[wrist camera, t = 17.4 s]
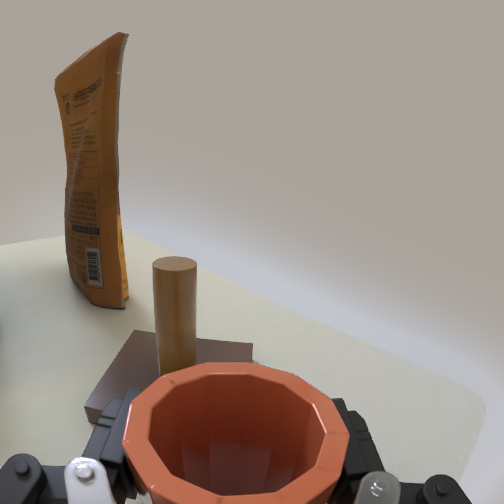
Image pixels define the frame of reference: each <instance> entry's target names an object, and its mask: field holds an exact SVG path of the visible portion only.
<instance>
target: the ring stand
mask: <svg viewBox="0 0 504 504" xmlns="http://www.w3.org/2000/svg"><path fill="white" fill-rule="evenodd" d="M196 285H197V263H196V262H195V261H194V260H192V259H189V258H185V257H175V256H174V257H163V258H159V259H157V260H155V261H154V262H153V293H154V314H155V330H156V333H153V332H146V331H139V330H134V331H133V333H132V334H131V336H130V337H129V339H128V340H127V341H126V343H125V344H124V346H123V347H122V349H121V350H120V352H119V353H118V355H117V356H116V358H115V359H114V361H113V362H112V364H111V365H110V367H109V368H108V370H107V371H106V373H105V374H104V376H103V377H102V379H101V380H100V382H99V383H98V385H97V386H96V388H95V389H94V391H93V392H92V394H91V395H90V397H89V398H88V400H87V402H86V403H85V405H84V408H85V411H86V414H87V417H88V420H89V422H92V423H95V424H97V422H98V420H99V418H100V417H101V414H102V412H103V410H104V408H105V405H106V404H108V403H109V402H110V401H111V400H112V399H114V398H115V397H118V398H123V399H124V396H125V394H126V392H127V389H128V388H129V387H130V386H133V387H139V388H147V387H148V386H150V385H151V384H152V383H153V382H154V381H155V380H156V379H158V378H159V377H160V376H163V375H165V374H168V373H171V372H175V371H178V370H181V369H185V368H188V367H191V366H194V365H198V364H201V363H205V362H223V363H226V362H249V363H252V350H253V344H252V343H241V342H230V341H219V340H210V339H200V338H196Z"/></svg>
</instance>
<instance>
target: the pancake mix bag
mask: <svg viewBox="0 0 504 504" xmlns="http://www.w3.org/2000/svg"><path fill="white" fill-rule="evenodd" d="M128 36H129V34H125V33H120V32H118V33H116V34H114V35H112V36H111V37H109V38H107V39H105V40H104V41H102V42H101V43H100V44H98V45H96V46H94V47H93V48H91V49H90V50H88V51H87V52H85V53H84V54H83V55H82V56H80V57H79V58H78V59H77V60H76V61H75V62H73V63H72V64H70V65H69V66H68V67H67V68H65V69H64V70H63V71H62V72H61V73H60V74H59V75H58V76H57V78H56V79H55V88H54V90H55V94H56V98H57V102H58V106H59V110H60V115H61V120H62V128H63V136H64V147H65V153H66V160H67V181H66V188H65V214H64V215H65V216H64V217H65V242H66V254H67V261H68V266H69V271H70V276H71V277H72V279H73V280H74V281H75V282H76V284H77V285H78V286H79V288H80V289H81V290H82V291H83V292H84V293H85V295H86V296H87V298H88V299H89V300H90V302H91V303H92V304H94V305H97V306H101V307H108V308H125V303H124V301H125V300H126V299H127V298H128V281H127V273H126V264H125V255H124V246H123V238H122V228H121V218H120V207H119V191H118V183H119V159H118V143H117V142H118V130H119V95H120V84H121V72H122V61H123V54H124V49H125V45H126V41H127V38H128Z"/></svg>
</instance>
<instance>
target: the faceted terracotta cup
mask: <svg viewBox="0 0 504 504" xmlns="http://www.w3.org/2000/svg"><path fill="white" fill-rule="evenodd" d="M349 438H350V435H349V432H348V430H347V428H346V426H345V424H344V422H343V420H342V418H341V416H340V414H339V412H338V410H337V409H336V407H335V405H334V403H333V401H332V400H331V399H330V398H329V397H328V396H326V395H325V394H323V393H322V392H320V391H319V390H317V389H316V388H314V387H313V386H311V385H310V384H308V383H307V382H306V381H304V380H303V379H301V378H300V377H298V376H296V375H295V374H292V373H288V372H285V371H281V370H277V369H273V368H270V367H266V366H262V365H259V364H255V363H249V362H226V363H223V362H205V363H201V364H198V365H194V366H191V367H188V368H185V369H181V370H178V371H175V372H171V373H168V374H165V375H163V376H160V377H159V378H158V379H156V380H155V381H154V382H153V383H152V384H151V385H150V386H148V387H147V388H146V389H145V390H144V391H143V392H141V393H140V394H139V395H138V396H137V397H136V398H135V399H133V400H132V401H131V404H130V405H129V410H128V414H127V419H126V424H125V428H124V433H123V438H122V447H123V450H124V453H125V456H126V459H127V462H128V465H129V468H130V471H131V474H132V477H133V480H134V483H135V486H136V488H137V491H138V494H139V496H140V499H141V501H142V504H326V502H327V501H328V499H329V497H330V495H331V493H332V491H333V489H334V488H335V486H336V484H337V482H338V480H339V478H340V476H341V472H342V468H343V464H344V460H345V456H346V452H347V447H348V443H349Z"/></svg>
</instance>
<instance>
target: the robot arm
mask: <svg viewBox="0 0 504 504" xmlns="http://www.w3.org/2000/svg"><path fill="white" fill-rule="evenodd" d="M145 389H146V388H139V387H133V386H130V387H129V388H128V389H127V392H126V394H125V396H124V399H123V398H118V397H115V398H114V399H112V400H111V401H110V402H109V403H108V404H106V405H105V408H104V410H103V412H102V414H101V417H100V418H99V420H98V422H97V425H96V426H95V429H94V431H93V433H92V435H91V437H90V439H89V442H88V444H87V446H86V448H85V450H84V453H83V455H82V456H81V457H79V458H76V459H74V460H72V461H70V462H69V463H68V464H67V466H44V465H41V464H40V463H39V461H38V460H37V459H36V458H35V457H33V456H31V455H29V454H16V455H14V456H12V457H11V458H9V459H8V461H7V462H6V463H5V464H4V466H3V467H2V468H1V469H0V504H125V501H126V498H130V499H134V500H136V496H137V492H138V491H137V488H136V486H135V483H134V480H133V477H132V474H131V471H130V468H129V465H128V462H127V459H126V456H125V453H124V450H123V447H122V438H123V433H124V428H125V424H126V419H127V414H128V410H129V405H130V404H131V401H132V400H133V399H135V398H136V397H137V396H138V395H139V394H140V393H141V392H143V391H144V390H145ZM331 400H332V401H333V403H334V405H335V407H336V409H337V410H338V412H339V414H340V416H341V418H342V420H343V422H344V424H345V426H346V428H347V430H348V432H349V435H350V438H349V443H348V447H347V452H346V456H345V460H344V464H343V468H342V472H341V476H340V478H339V480H338V482H337V484H336V486H335V488H334V489H333V491H332V493H331V495H330V497H329V499H328V501H327V504H472V503H471V502H470V500H469V499H468V497H467V496H466V495H465V494H464V492H463V490H462V489H461V488H460V486H459V485H458V483H457V482H456V481H455V480H454V479H453V478H451V477H449V476H447V475H442V474H441V475H434V476H432V477H430V478H429V479H428V480H427V481H426V482H425V483H424V484H418V483H403V482H399V481H398V479H397V478H396V477H395V476H394V475H392V474H390V473H388V472H386V471H385V469H384V467H383V465H382V462H381V460H380V457H379V455H378V452H377V450H376V447H375V445H374V442H373V440H372V437H371V435H370V432H368V428H367V425H366V423H365V420H364V419H363V418H362V417H361V416H360V415H359V414H358V413H357V412H356V411H347V408H346V405H345V403H344V400H343V399H342V398H335V399H331Z"/></svg>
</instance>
